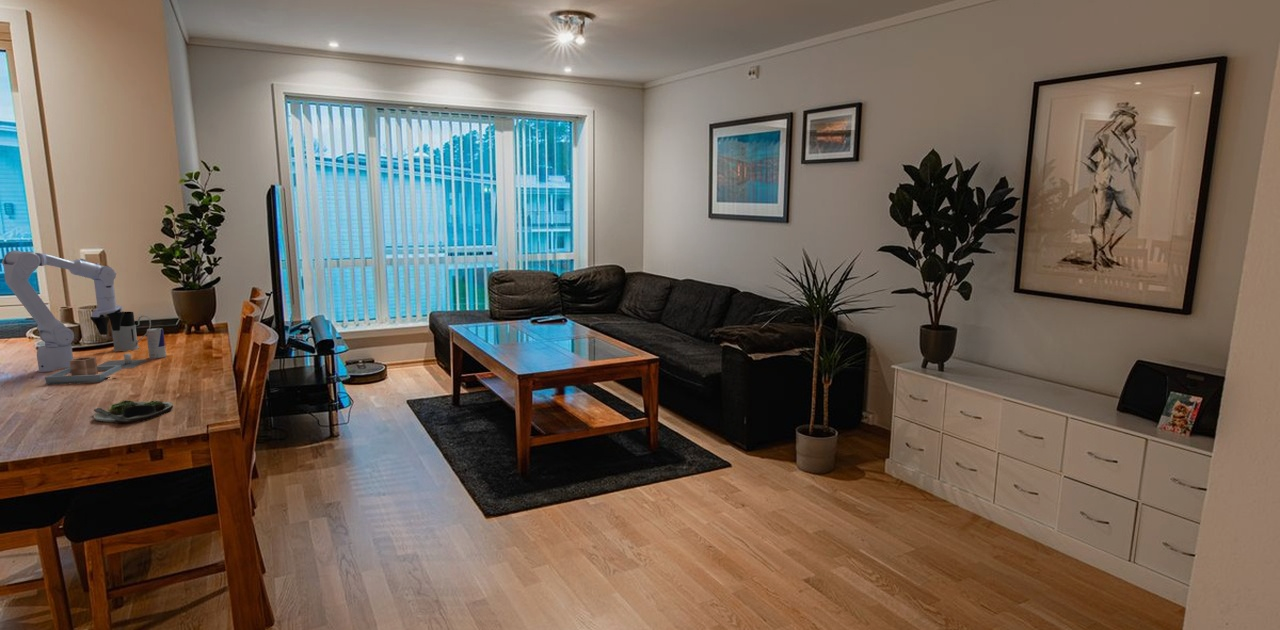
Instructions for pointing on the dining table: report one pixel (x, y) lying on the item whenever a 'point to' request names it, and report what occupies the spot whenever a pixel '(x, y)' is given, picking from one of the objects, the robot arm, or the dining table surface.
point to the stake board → (124, 366)
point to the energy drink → (156, 343)
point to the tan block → (84, 366)
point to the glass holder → (127, 333)
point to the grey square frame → (82, 376)
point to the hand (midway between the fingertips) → (110, 332)
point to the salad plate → (132, 411)
